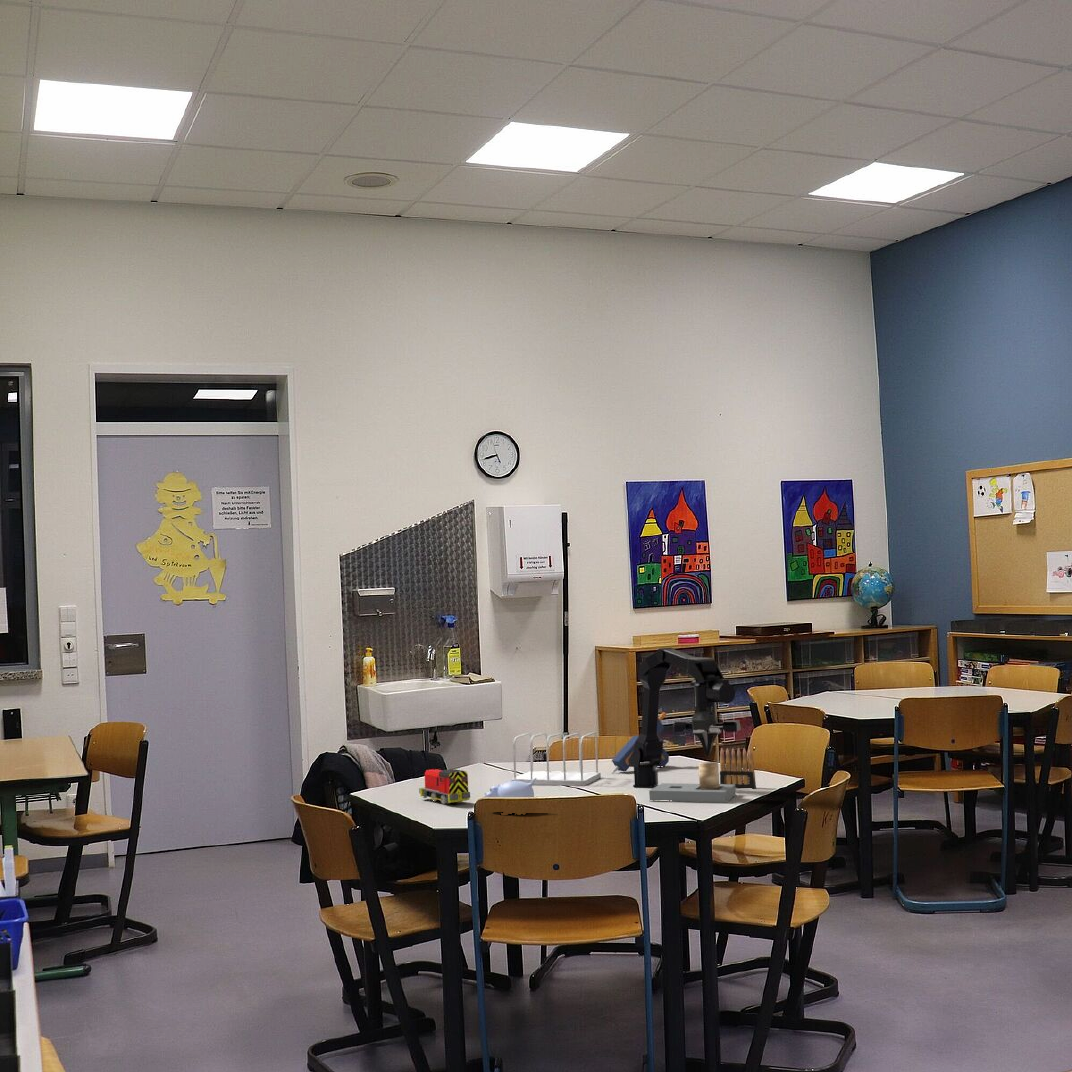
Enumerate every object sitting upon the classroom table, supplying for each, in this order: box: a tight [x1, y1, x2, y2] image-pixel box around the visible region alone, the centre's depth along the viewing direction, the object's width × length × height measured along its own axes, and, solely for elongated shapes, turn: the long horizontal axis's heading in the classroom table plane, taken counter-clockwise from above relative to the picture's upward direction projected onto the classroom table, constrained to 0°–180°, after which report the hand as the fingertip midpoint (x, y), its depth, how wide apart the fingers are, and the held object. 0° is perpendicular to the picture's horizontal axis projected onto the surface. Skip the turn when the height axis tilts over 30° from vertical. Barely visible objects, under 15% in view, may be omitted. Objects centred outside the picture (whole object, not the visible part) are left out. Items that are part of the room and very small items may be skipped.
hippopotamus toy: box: [484, 778, 537, 798], centre depth 328 cm, size 11×15×10 cm
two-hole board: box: [649, 782, 737, 804], centre depth 339 cm, size 22×14×3 cm, turn 69°
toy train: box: [418, 767, 471, 805], centre depth 350 cm, size 7×19×10 cm, turn 35°
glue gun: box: [611, 711, 670, 775], centre depth 403 cm, size 6×31×15 cm
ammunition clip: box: [719, 747, 757, 789], centre depth 355 cm, size 11×2×12 cm, turn 65°
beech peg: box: [698, 761, 720, 790], centre depth 338 cm, size 6×6×10 cm
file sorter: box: [511, 731, 602, 787], centre depth 384 cm, size 25×17×16 cm
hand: (708, 756), depth 338 cm, fingers closed
